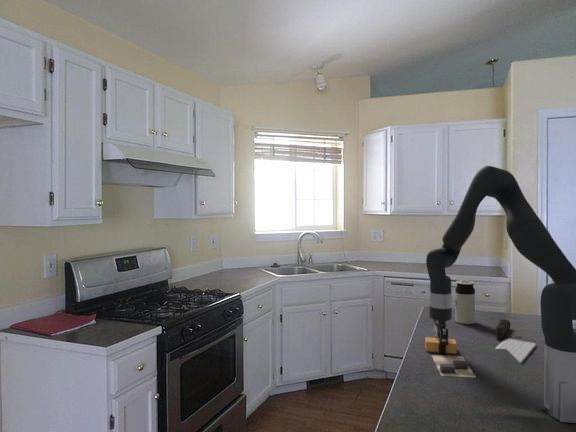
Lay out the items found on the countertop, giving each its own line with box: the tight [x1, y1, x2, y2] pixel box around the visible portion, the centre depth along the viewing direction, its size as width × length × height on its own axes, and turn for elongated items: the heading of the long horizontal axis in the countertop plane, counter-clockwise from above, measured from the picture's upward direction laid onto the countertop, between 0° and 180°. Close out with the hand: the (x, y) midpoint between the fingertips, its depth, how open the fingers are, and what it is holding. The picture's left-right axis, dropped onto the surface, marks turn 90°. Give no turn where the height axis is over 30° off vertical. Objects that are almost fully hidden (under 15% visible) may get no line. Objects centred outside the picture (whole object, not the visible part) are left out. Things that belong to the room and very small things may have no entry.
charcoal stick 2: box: [453, 360, 469, 370], centre depth 130 cm, size 2×4×2 cm, turn 80°
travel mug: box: [454, 279, 476, 325], centre depth 184 cm, size 8×8×18 cm
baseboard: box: [495, 334, 537, 364], centre depth 146 cm, size 31×3×12 cm
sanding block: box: [424, 336, 458, 355], centre depth 146 cm, size 5×10×5 cm, turn 74°
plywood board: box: [431, 354, 477, 379], centre depth 132 cm, size 17×10×2 cm, turn 170°
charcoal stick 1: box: [440, 364, 455, 374], centre depth 127 cm, size 2×4×2 cm, turn 80°
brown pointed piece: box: [495, 319, 511, 341], centre depth 168 cm, size 19×4×5 cm, turn 142°
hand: (440, 352), depth 146 cm, fingers open, 6 cm apart
